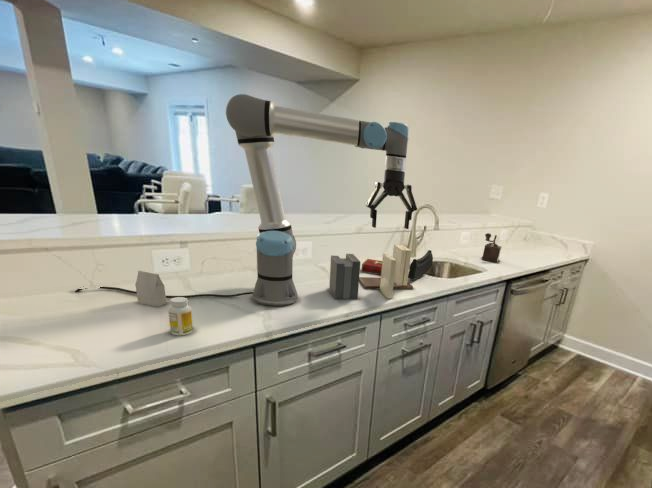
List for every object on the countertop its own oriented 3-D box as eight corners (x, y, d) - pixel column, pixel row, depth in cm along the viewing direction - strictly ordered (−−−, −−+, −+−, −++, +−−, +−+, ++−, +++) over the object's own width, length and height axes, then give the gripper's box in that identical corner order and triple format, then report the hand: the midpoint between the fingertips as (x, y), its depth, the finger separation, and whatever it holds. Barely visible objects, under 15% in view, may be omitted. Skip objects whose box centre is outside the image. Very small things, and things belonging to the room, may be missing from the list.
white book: (387, 298, 156) (391, 260, 149) (379, 289, 165) (383, 253, 159) (391, 298, 156) (396, 260, 150) (383, 289, 166) (387, 253, 159)
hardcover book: (403, 278, 186) (404, 269, 184) (361, 271, 187) (362, 263, 185) (406, 272, 197) (407, 264, 195) (366, 266, 198) (367, 258, 196)
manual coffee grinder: (482, 256, 262) (488, 230, 254) (498, 260, 259) (504, 233, 252) (479, 260, 248) (485, 233, 241) (496, 264, 245) (502, 236, 238)
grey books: (334, 299, 147) (337, 260, 141) (329, 288, 157) (331, 252, 151) (357, 298, 150) (360, 261, 144) (350, 289, 160) (353, 253, 154)
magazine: (414, 264, 176) (434, 238, 198) (407, 263, 177) (428, 237, 199) (413, 295, 187) (432, 267, 209) (407, 294, 188) (426, 266, 210)
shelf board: (365, 288, 163) (365, 286, 163) (358, 279, 174) (358, 277, 174) (412, 289, 172) (413, 286, 171) (403, 280, 183) (403, 278, 182)
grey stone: (157, 306, 119) (152, 275, 115) (138, 302, 120) (133, 271, 116) (166, 303, 123) (162, 273, 119) (147, 299, 123) (143, 269, 120)
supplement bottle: (169, 336, 103) (165, 303, 99) (172, 328, 108) (168, 296, 104) (192, 335, 105) (189, 302, 102) (194, 327, 110) (191, 295, 106)
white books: (397, 285, 170) (402, 250, 163) (390, 278, 179) (394, 244, 173) (406, 285, 171) (411, 250, 165) (398, 278, 180) (402, 244, 174)
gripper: (365, 166, 134) (362, 228, 142) (429, 173, 144) (422, 230, 152) (359, 165, 140) (357, 224, 148) (421, 172, 150) (415, 227, 158)
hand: (390, 227), depth 150 cm, fingers open, 13 cm apart
